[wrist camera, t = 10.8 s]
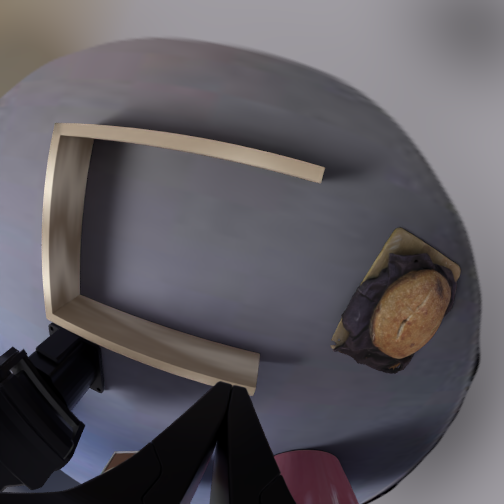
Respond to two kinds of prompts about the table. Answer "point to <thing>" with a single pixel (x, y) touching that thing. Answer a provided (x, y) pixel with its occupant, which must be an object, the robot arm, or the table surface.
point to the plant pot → (315, 477)
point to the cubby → (69, 243)
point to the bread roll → (397, 304)
